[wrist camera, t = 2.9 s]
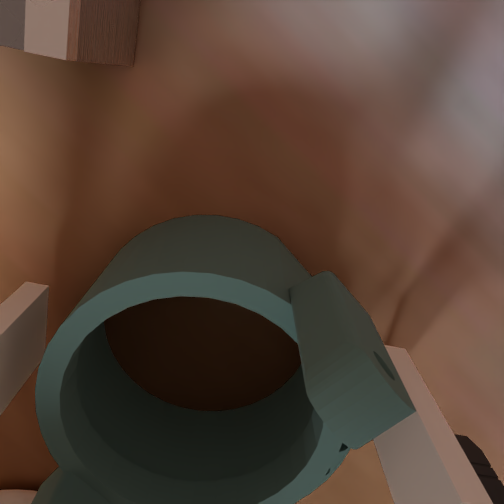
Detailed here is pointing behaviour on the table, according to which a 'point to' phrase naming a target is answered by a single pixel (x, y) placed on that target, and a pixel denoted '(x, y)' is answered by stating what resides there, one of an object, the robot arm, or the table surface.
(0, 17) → the stand
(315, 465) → the teal pail
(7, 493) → the supplement tub
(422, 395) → the robot arm
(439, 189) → the table surface
